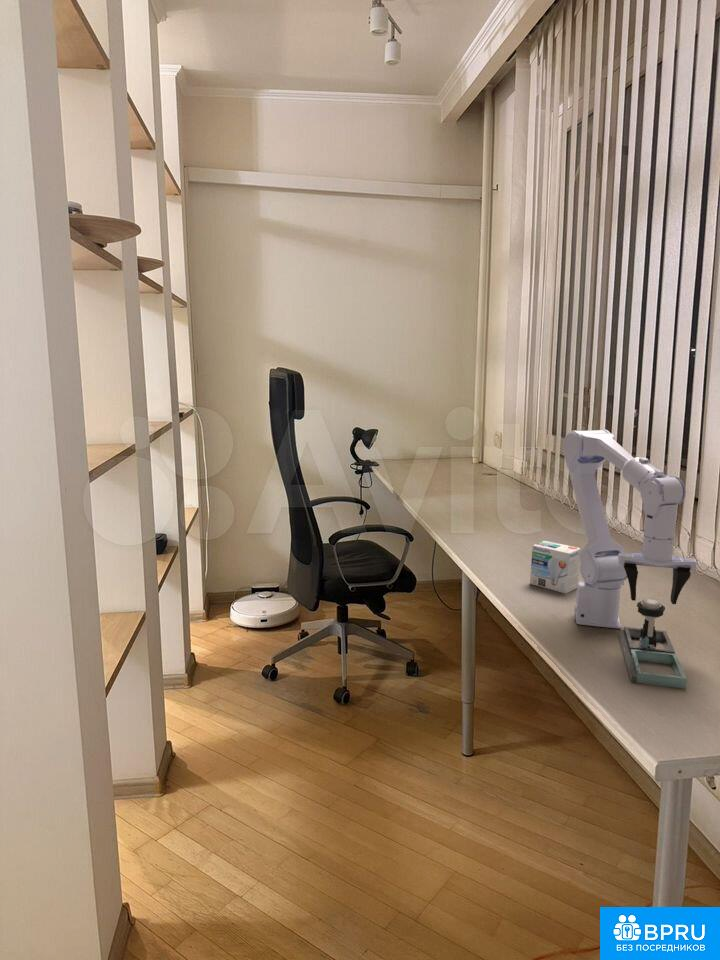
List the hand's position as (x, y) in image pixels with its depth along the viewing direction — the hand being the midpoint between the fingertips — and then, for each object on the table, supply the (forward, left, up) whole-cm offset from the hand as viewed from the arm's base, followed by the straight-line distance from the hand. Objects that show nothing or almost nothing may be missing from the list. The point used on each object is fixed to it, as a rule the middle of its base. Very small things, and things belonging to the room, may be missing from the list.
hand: (652, 600), depth 143 cm
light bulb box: (-18, +35, -11) cm, 41 cm away
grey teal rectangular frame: (0, -6, -10) cm, 12 cm away
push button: (0, 0, -11) cm, 11 cm away
